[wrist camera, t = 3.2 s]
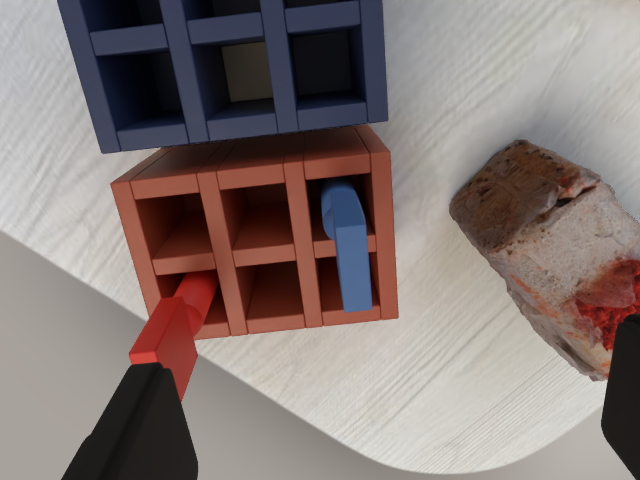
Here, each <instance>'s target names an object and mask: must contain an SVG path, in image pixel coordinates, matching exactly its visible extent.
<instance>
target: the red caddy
mask: <svg viewBox="0 0 640 480" xmlns="http://www.w3.org/2000/svg"><path fill="white" fill-rule="evenodd" d="M346 175H351V178H352V181H353V184H354V187H355V190H356V193H357V196H358V198H359V201H360V204H361V207H362V210H363V213H364V216H365V223H366V229H367V242H368V256H369V269H370V282H371V295H372V310H365V311H356V312H346V313H345V312H344V309H343V302H342V295H341V288H340V281H339V274H338V267H337V258H336V249H335V241H333V240H332V239H330V238H329V237H328V235H327V234H326V232H325V230H324V226H323V217H322V206H321V195H320V185H319V179H320V178H329V177H338V176H346ZM110 185H111V188H112V192H113V195H114V198H115V202H116V205H117V209H118V212H119V216H120V219H121V222H122V226H123V229H124V233H125V236H126V239H127V243H128V246H129V250H130V253H131V257H132V260H133V263H134V267H135V270H136V274H137V277H138V280H139V284H140V287H141V291H142V294H143V298H144V301H145V304H146V308H147V311H148V315H149V318H150V316H151V314H152V313H153V311H154V309H155V308H156V306H157V304H158V302H159V301H160V299H162V298H170V297H173V296H174V294H175V293H176V291H177V289H178V287H179V285H180V283H181V281H182V280H183V278H184V276H185V274H186V272H193V271H202V270H211V269H216V268H217V272H218V277H219V283H218V286H217V288H216V291H215V294H214V296H213V299H212V302H211V304H210V307H209V310H208V312H207V315H206V318H205V320H204V323H203V326H202V328H201V330H200V331H199V333H198V334H197V335H196V336H194V337H193V339H194V340H200V339H209V338H219V337H228V336H240V335H248V333H249V334H256V333H265V332H274V331H284V330H293V329H302V328H314V327H322V326H323V325H324V326H331V325H341V324H350V323H359V322H368V321H378V320H388V319H397V318H398V317H399V316H398V297H397V277H396V257H395V238H394V218H393V199H392V179H391V160H390V151H389V150H388V149H387V147H386V146H385V145H384V144H383V142H382V141H381V140H380V139H379V137H378V136H377V135H376V134H375V133H374V131H373V130H372V129H371V128H370V126H369V125H361V126H352V127H343V128H335V129H326V130H317V131H309V132H300V133H291V134H283V135H274V136H265V137H257V138H248V139H239V140H231V141H222V142H213V143H205V144H196V145H187V146H179V147H170V148H161V149H160V150H158V151H157V152H155V153H154V154H152V155H151V156H149V157H148V158H147V159H145V160H144V161H142V162H141V163H139V164H138V165H136V166H135V167H133V168H132V169H130V170H129V171H128V172H126V173H125V174H123V175H122V176H120V177H119V178H117V179H116V180H114V181H113V182H112V183H110Z"/></svg>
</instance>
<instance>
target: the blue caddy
mask: <svg viewBox="0 0 640 480" xmlns="http://www.w3.org/2000/svg"><path fill="white" fill-rule="evenodd" d="M57 3H58V6H59V10H60V13H61V16H62V20H63V23H64V27H65V30H66V34H67V37H68V40H69V44H70V47H71V51H72V54H73V57H74V61H75V64H76V68H77V71H78V75H79V78H80V81H81V85H82V88H83V92H84V95H85V98H86V102H87V105H88V109H89V112H90V116H91V119H92V122H93V126H94V129H95V133H96V136H97V140H98V143H99V146H100V150H101V153H103V154H106V153H115V152H121V151H123V152H124V151H133V150H142V149H150V148H159V147H168V146H176V145H185V144H189V143H192V144H193V143H201V142H208V141H220V140H228V139H237V138H246V137H255V136H263V135H272V134H278V133H280V134H281V133H289V132H298V131H307V130H315V129H324V128H333V127H341V126H350V125H359V124H366V123H367V122H368V123H376V122H384V121H388V102H387V82H386V63H385V43H384V24H383V4H382V0H57Z"/></svg>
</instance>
